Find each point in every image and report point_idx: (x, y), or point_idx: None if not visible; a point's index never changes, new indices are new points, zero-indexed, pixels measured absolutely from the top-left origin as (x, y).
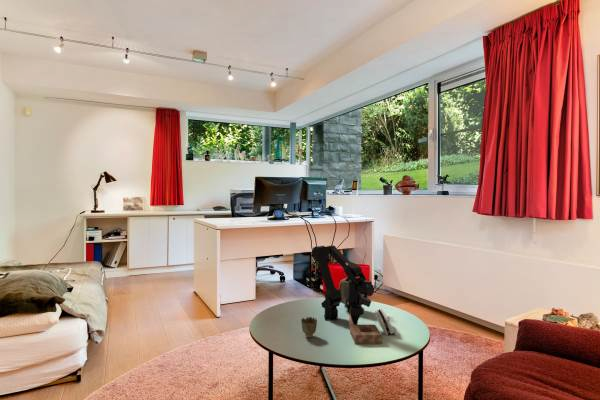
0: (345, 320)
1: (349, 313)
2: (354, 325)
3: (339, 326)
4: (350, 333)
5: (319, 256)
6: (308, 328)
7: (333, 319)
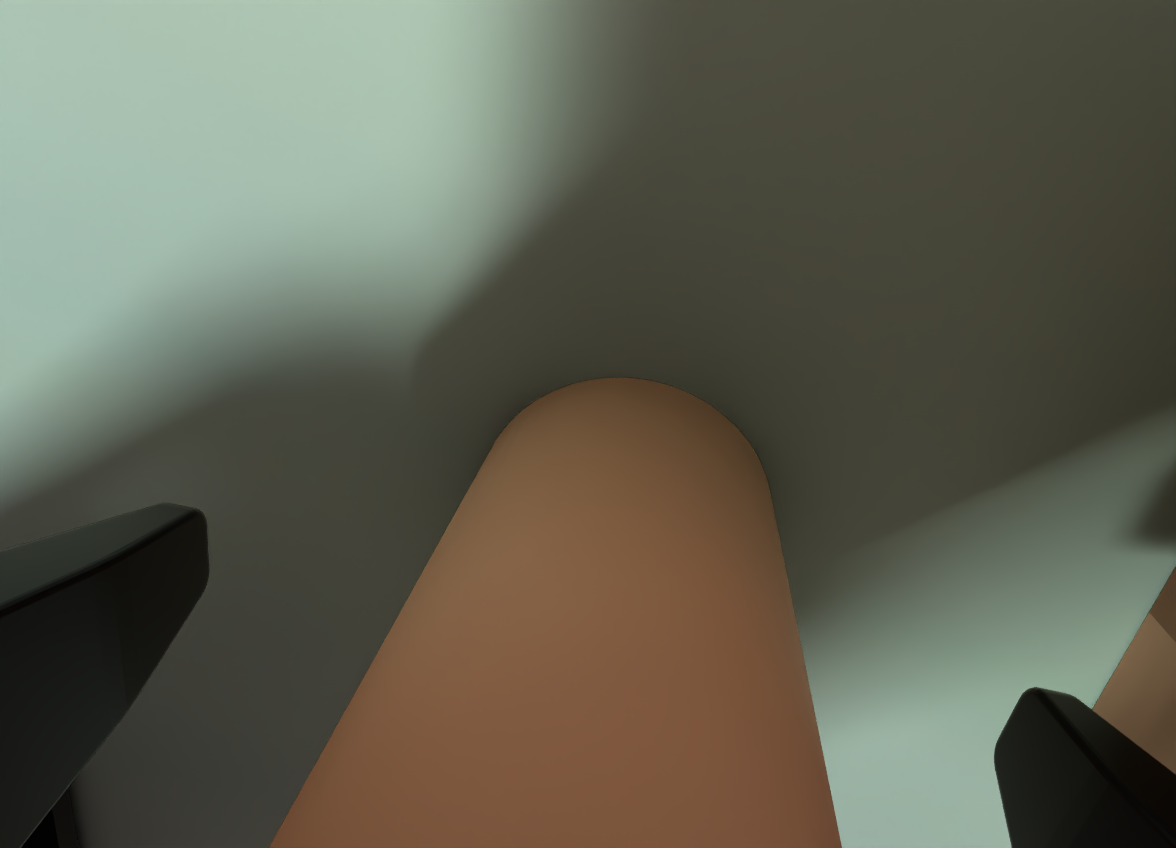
0: (33, 534)
1: (4, 843)
2: None
3: None
4: None
5: None
6: None
7: (59, 843)
